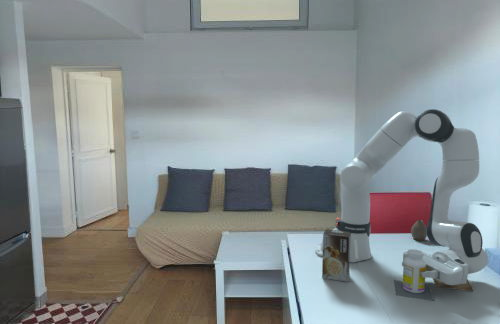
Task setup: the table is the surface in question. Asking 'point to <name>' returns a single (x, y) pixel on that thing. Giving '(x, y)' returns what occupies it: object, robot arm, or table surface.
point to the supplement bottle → (414, 272)
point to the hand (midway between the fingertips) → (412, 269)
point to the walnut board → (459, 286)
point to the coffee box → (336, 255)
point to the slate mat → (402, 292)
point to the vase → (419, 231)
